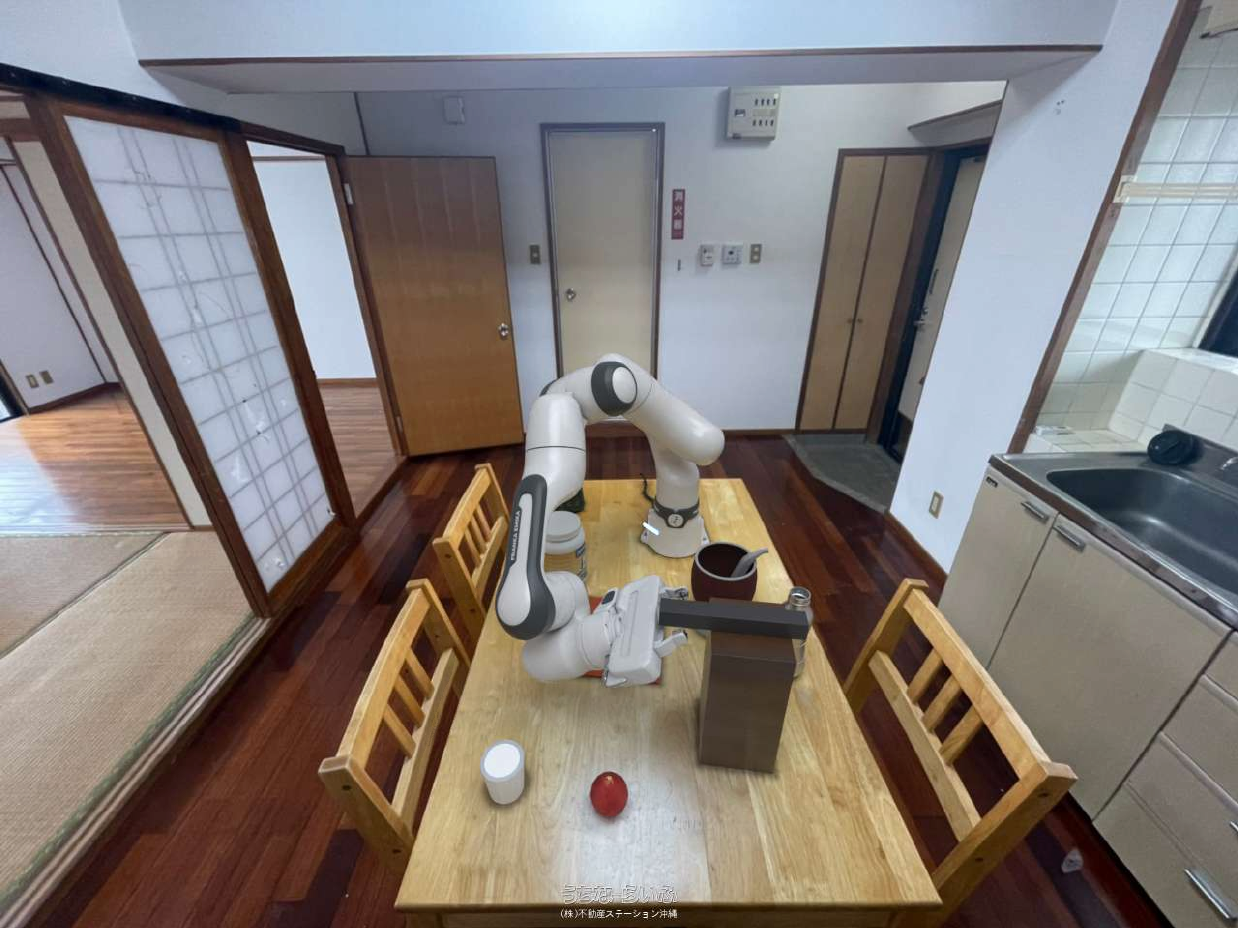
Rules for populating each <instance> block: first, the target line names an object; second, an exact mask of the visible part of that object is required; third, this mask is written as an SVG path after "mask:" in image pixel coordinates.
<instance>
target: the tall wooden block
mask: <svg viewBox="0 0 1238 928" xmlns="http://www.w3.org/2000/svg"><path fill="white" fill-rule="evenodd" d="M710 602H712V603H722V604H733V605H744V606H755V607H766V608H777V609H786V607H785V604H782V603H777V602H766V601H756V600H752V601H745V600H734V599H723V598H712V597H710ZM796 664H797V662H796V657H795V652H794V647H793V642H792V639H790V638H780V637H770V636H760V635H749V634H739V633H729V632H719V631H709V630H707V635H706V637H705V645H704V657H703V665H702V666H703V667H702V674H701V675H702V676H701V677H702V678H701V685H700V686H701V687H700V694H699V695H700V697H699V765H705V766H711V767H719V768H727V769H735V770H743V771H751V772H758V773H764V774H765V773H766V774H773V773H774V769H775V764H776V760H777V755H778V750H779V746H780V743H781V737H782V733H783V729H784V722H785V720H786V714H787V709H788V705H789V700H790V696H791V693H792V687H793V682H794V678H795V677H794V673H795V669H796Z"/></svg>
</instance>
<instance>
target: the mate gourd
mask: <svg viewBox="0 0 1238 928" xmlns="http://www.w3.org/2000/svg"><path fill="white" fill-rule="evenodd" d="M768 553H769V549H768V548H763V549H759V550H754V551H750V550H749V549H748V548H746V547H744V546H743V545H740V544H738V543H734V542H731V541H721V540H720V541H712V542H709V543H708V544H705V545H703V546H701V547H700V548H699V549H698V550H697V552H696V553H694V554H695V555H694V558H693V562H692V565H691V571H690V588H691V593H692V596H693V599H694V601H701V602H710V597H712V598H723V599H734V600H745V601H754V598H755V595H756V591H757V585H758V579H759V578H758V576H759V575H758V561H757V559H758V558H759V557H761V556H762V555H764V554H768ZM695 630H696V631H697V632H698V633H699V634H700V635H701V636H703V637H705V638H706V635H707V630H699V629H695Z"/></svg>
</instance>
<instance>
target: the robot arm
mask: <svg viewBox="0 0 1238 928" xmlns="http://www.w3.org/2000/svg"><path fill="white" fill-rule="evenodd" d="M620 416H621V417H623V418H625V419H626V421H628V422H630V423H631V424H632V425H634V426H635V427H636V428H638V429H639V430H641V432H643V433H644V434H645V436H646V438H647V441H648V443H649V447H650V451H651V454H652V458H653V462H654V468H655V477H656V478H655V479H656V481H655V484H656V485H655V495H654V498H652V497H651V496H650V495H649V494H648V493H647V489H648V481H647V478H646V475H645V474H644V472H640V473H639V476H642V478H643V481H644V488H643V491H642V492H643V495H644V496H645V497H646V498H647V499H648V500H649V501H651V507H650V508H649V509H648V513H647V522H643V526H644V527H645V528H644V529H643V531H642V533H641V535H640V541H641V542H642V543H644V544H646V545H648V546H649V547H650V548H651V550H653V551H654V552H655V553H656V554H659V555H661V556H664V557H667V558H677V559H678V558H685V557H689V556H692V555H694V554H696V552H697V550H698V549H699V548H700V547H701V546H703V545H705V544H708V543H710V539H709V536H708V534H707V531H706V528H705V525H704V524H705V521H704V518H703V516H702V514H701V512H700V508H701V502H700V497H699V492H700V482H701V481H700V479H701V474H700V469H699V468H698V466H697V465H699V466H708V465H711V464H713V463H714V462H716V461H717V460H718V459H719V458H720V456H721V455H722V453H723V451H724V448H725V444H726V443H725V442H726V441H725V440H726V439H725V434H724V432H723V431H722V430H721V428H719V427H718V426H717V425H716V424H715V423H713V421H711V420H709V418H708V417H706V416H704V415H703V414H702V413H700V412H699V411H698V410H697V409H696V408H694V407H693V406H691V405H690V404H689V403H688V402H686V401H684V400H683V399H681V398H680V397H678V396H677V395H676V394H675V393H673V392H671V391H670V390H669V389H668V388H666V387H665V386H664V385H663V384H661V382H659V381H658V380H657V379H656V378H654V376H653V375H652V374H650V373H649V372H648V371H647V370H646V369H644V368H643V367H641V366H640V365H639V364H637V363H636V362H634V361H632V359H629V358H628V357H626V356H623V355H622V354H619V353H616V352H608V353H605V354H602V355H601V356H599V357H597V359H596V360H595V361H594V362H593V364H592V365H589V366H585V367H582V368H579V369H576V370H574V371H572V372H570V373H568V374H565V375H563V376H562V377H560V378H555V379H553V380H551V381H550V382H548V383H547V384H546V385H545V386H544V387H543V388H542V389H541V391H540V393H539V397H537V398H536V399H535V400H534V401H533V402H532V404H531V406H530V410H529V415H528V420H527V426H526V433H525V448H524V449H525V453H524V454H525V455H524V457H525V458H524V467H523V474H522V477H521V480H520V481H519V483H518V484H517V487H516V489H515V492H514V496H513V499H512V500H513V501H512V506H511V513H510V520H509V529H508V536H507V544H506V553H505V559H504V560H505V561H504V567H503V572H502V576H501V579H500V582H499V584H498V587H497V591H496V594H495V599H494V611H495V615H496V618H497V622H498V623H499V625H500V627H501V628H502V630H503V631H505V633H506V634H508V635H509V636H510V637H511V638H514V639H516V640H519V641H525V642H524V644H523V645H522V647H521V661H522V665H523V667H524V670H525V671H526V673H527V674H528V675H529V676H530V677H531V678H533V679H534V680H535V681H537V682H540V683H543V684H553V683H561V682H564V681H568V680H573V679H577V678H580V677H583V676H582V675H584V674H585V673H586V672H588V671H591V670H603V669H604V672H603V674H602V678H601V682H602V683H603V685H604V687H605V688H607V689H609V690H613V689H616V688H620V687H634V686H635V687H636V686H642V685H647V684H653V683H652V682H654V681H655V680H656V679H657V678H658V677H659V678H660V676H661V673H662V662H663V658H666V657H668V656H669V655H670V654H671V653H673V652H674V651H675V650H676V649H678V647H680V646H684V645H686V644H688V633H687V632H686V630H685V628H678V629H674V630H671V631H672V633H671V635H670V636H668V637H667V638H666V639H664V637H665V626H659V608H660V598H668V599H679V600H689V595H690V591H689V589H688V587H687V586H686V585H680V586H677V587H673V586H667V585H666V583H665V582H664V580H663V579H662V577H661V576H660V575H658V574H650V575H646V576H643V577H640V578H638V579H635V580H633V581H630V582H628V583H625V584H624V585H623V586H622V587H621V588H620V589H619V588H618V587H617V586H614V587H612V588H609V589H608V590H607V591H606V593H605V595H604V596H603V597H602V598H603V600H602V601H601V603H600V604H599V606H598V607H597V608H596V609H595V610H594V612H593V614H592V615H591V608H590V602H589V598H590V596H589V592H588V589H587V586H586V583H585V582H583V580H582V579H581V578H580V577H579V576H578V575H576V574H575V573H573V572H570V571H553V572H547V573H545V572H544V557H545V547H546V536H547V526H548V522H549V519H550V516H551V514H552V513H553V512H555V511H556V510H555V509H556V508H557V507H558V506H559V505H560V504H562V503H563V502H565V501H567V500H569V499H570V498H572V497H573V496H574V495H576V494H577V493H578V491H579V490H580V489H581V487H582V488H583V486H584V483H585V478H586V472H587V441H586V432H585V429H586V427H587V426H592V425H595V424H597V423H599V422H603V421H607V420H608V419H611V418H616V417H620Z"/></svg>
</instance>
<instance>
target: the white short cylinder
mask: <svg viewBox="0 0 1238 928" xmlns="http://www.w3.org/2000/svg"><path fill="white" fill-rule="evenodd" d="M479 770H480V773H481V776H482V778H483V780H484V783H485V786H486V788H487V791H488V793H489V796H490V798H491V799H492V801H493V802H495V803H496V804H499V805H509V804H512V803H513V802H515V801H517V800H518V799H519V797H520V796H521V795H522V793H523V791H524V788H525V752H524V749H523V747H522V746H521V745H520V744H519V743H517V741H514V740H511V739H502V740H498V741H496V742H494V743H492V744H490V745H489V746H488V747H487V748H486V749H485V750H484V752H483V754H482V756H481V757H480V763H479Z"/></svg>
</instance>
